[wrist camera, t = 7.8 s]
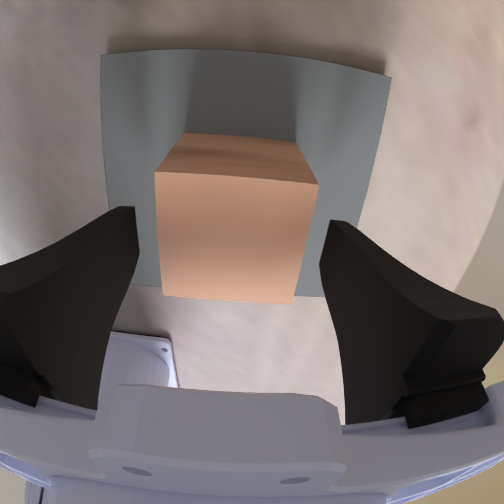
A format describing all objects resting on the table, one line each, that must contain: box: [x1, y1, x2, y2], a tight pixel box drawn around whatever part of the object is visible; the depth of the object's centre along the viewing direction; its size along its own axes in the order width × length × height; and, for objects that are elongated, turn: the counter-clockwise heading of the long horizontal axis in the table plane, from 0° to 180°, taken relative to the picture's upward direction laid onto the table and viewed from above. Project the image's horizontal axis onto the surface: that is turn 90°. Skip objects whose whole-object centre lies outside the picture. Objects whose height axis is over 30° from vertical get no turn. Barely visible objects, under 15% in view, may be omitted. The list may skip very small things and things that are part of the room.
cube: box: [155, 133, 319, 304], centre depth 13 cm, size 5×5×5 cm
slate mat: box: [101, 49, 392, 297], centre depth 15 cm, size 13×13×1 cm
